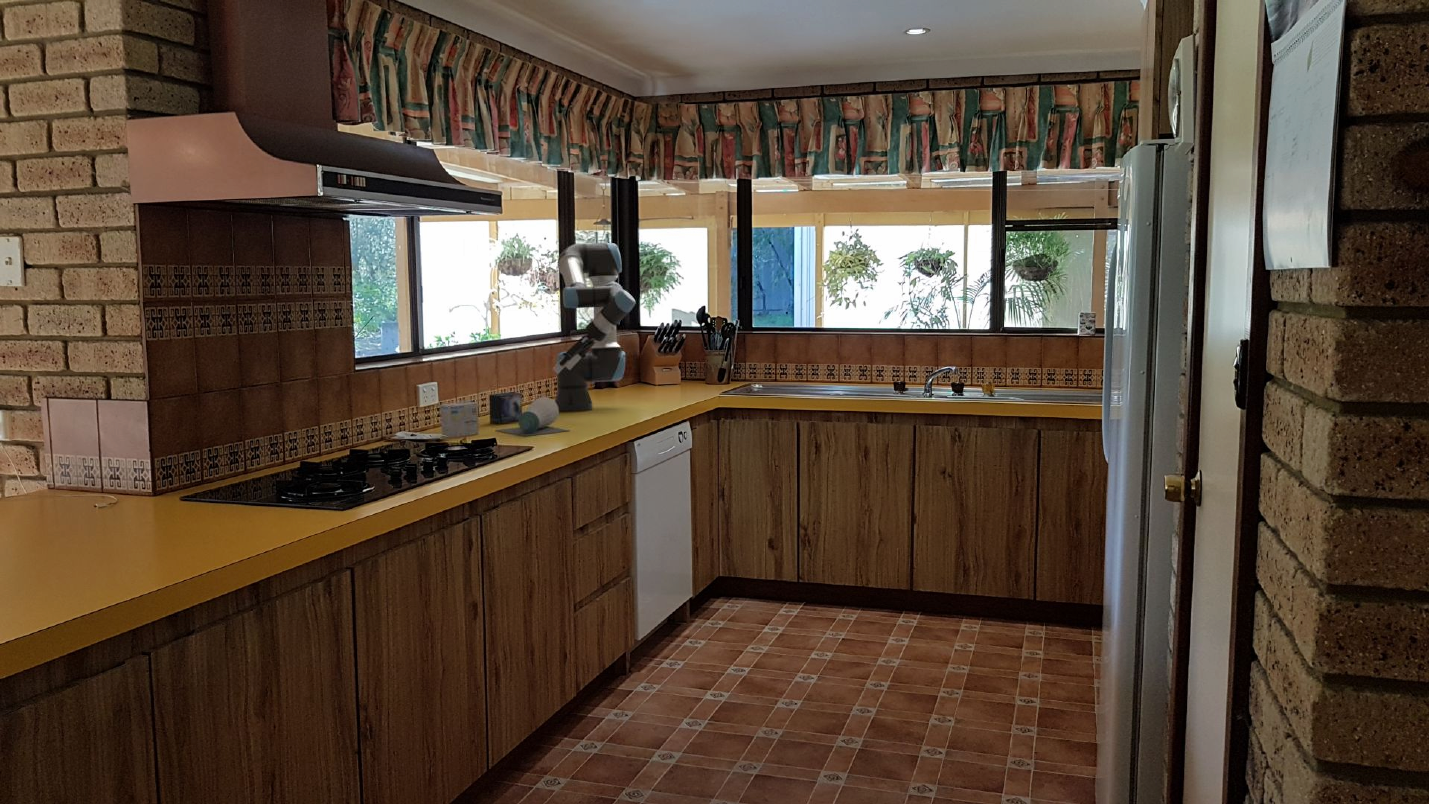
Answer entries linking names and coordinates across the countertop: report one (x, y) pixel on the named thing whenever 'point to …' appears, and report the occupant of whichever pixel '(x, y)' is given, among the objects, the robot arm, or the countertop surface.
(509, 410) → the small box
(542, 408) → the soap bottle
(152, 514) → the countertop surface
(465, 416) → the light bulb box
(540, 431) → the charcoal mat
